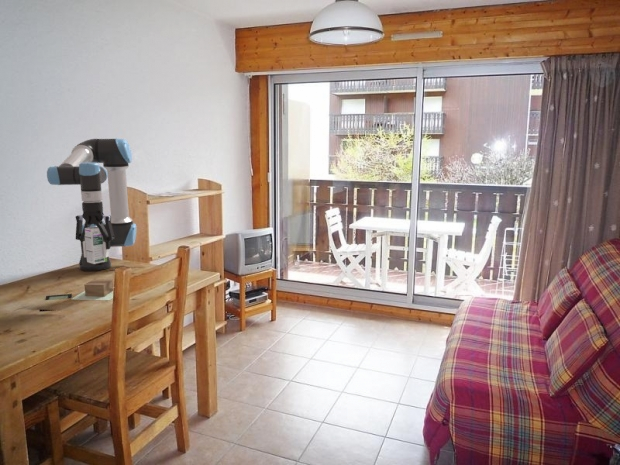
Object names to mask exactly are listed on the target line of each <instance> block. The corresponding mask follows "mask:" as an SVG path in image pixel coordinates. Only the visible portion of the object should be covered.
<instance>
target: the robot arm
mask: <svg viewBox="0 0 620 465" xmlns="http://www.w3.org/2000/svg"><path fill="white" fill-rule="evenodd" d="M131 151H132V150H131V148H130V144H129V143H128V141H127V140H126V139H124V138H91V139H87V140H84V141H82V142H80V143H78V144H77V145H75V146H74V147H73V148H72V150H71V153H70V154H69V156H67V158H65V160H64V161H63V162H62V163H60V165H59V166H56V165H55V166H50V167H48V168H47V171H46V177H47V179H46V180H47V182H48V183H49V184H50V185H52V186H53V185H54V186H75V185H80V195H81V201H82V203H81V207H82V208H81V209H82V214H78V215H75V221H76V224H75V225H76V227H75V240H76V241H77V240H78V241H79V242H80V248H81V256H80V258H79V263H78V269H79V270H80V271H83V272H93V271H94V272H95V271H96V272H97V271H101V270H107V269H109V268H111V267H112V261H111V259H110V249H111V248H114V247H115V248H116V247H118V248H119V247H132V246H134V245H135V244H136V243H135V242H136V238H137V230H138V229H137V228H138V227H137V224H136V223H134V220H133V218H131V216H130V211H129V209H130V208H129V200H128V199H129V197H128V185H127V169H128V168H129V164H131V163H132V160H133V159H132V152H131ZM100 164H102V166H101V165H100ZM106 181H107V186H108V197H109V210H110V215H107V214H104V212H103V211H104V205H103V201H102V200H103V192H102V184H104V183H105V182H106ZM83 220H84V224H83ZM103 220H104V221H103ZM95 226H97V227H98V228H99V230H100V232H101V234H102V236H103V238H104V240H105V241H104V242H103V248H104V258H106V257H107V262H101V263H96V264H92V263H89V262H87V256H86V245H85V228H88V227H95Z"/></svg>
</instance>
